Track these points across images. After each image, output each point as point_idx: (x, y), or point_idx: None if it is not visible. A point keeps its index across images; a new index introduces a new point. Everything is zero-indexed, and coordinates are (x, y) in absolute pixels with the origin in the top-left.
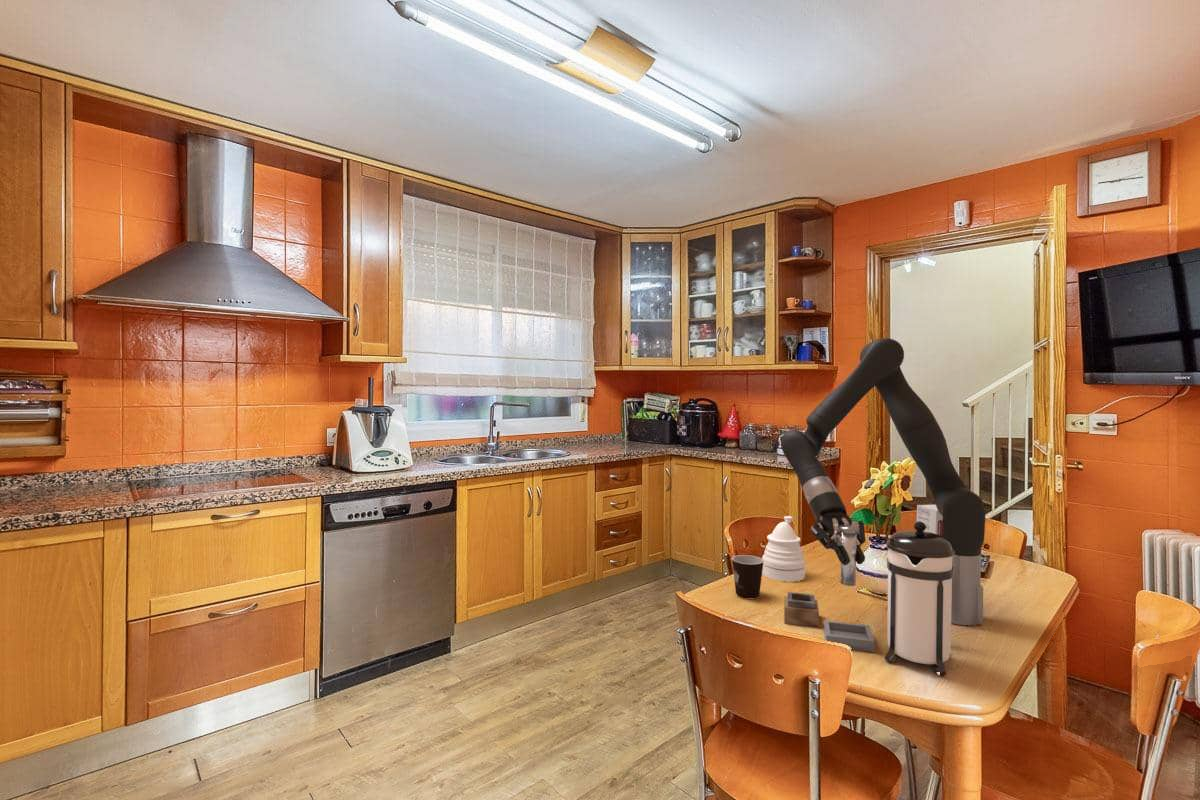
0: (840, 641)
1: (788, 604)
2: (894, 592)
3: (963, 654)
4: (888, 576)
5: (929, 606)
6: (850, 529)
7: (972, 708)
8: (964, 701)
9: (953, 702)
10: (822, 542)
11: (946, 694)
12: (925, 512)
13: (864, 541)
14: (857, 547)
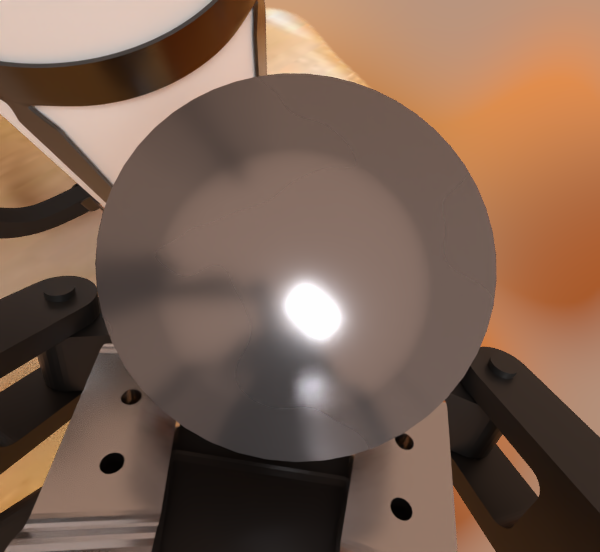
0: None
1: None
2: (265, 63)
3: (50, 160)
4: (224, 80)
5: None
6: (412, 116)
7: (284, 13)
8: (274, 33)
9: (299, 39)
10: (521, 483)
11: (283, 62)
12: None
13: (66, 278)
14: None
